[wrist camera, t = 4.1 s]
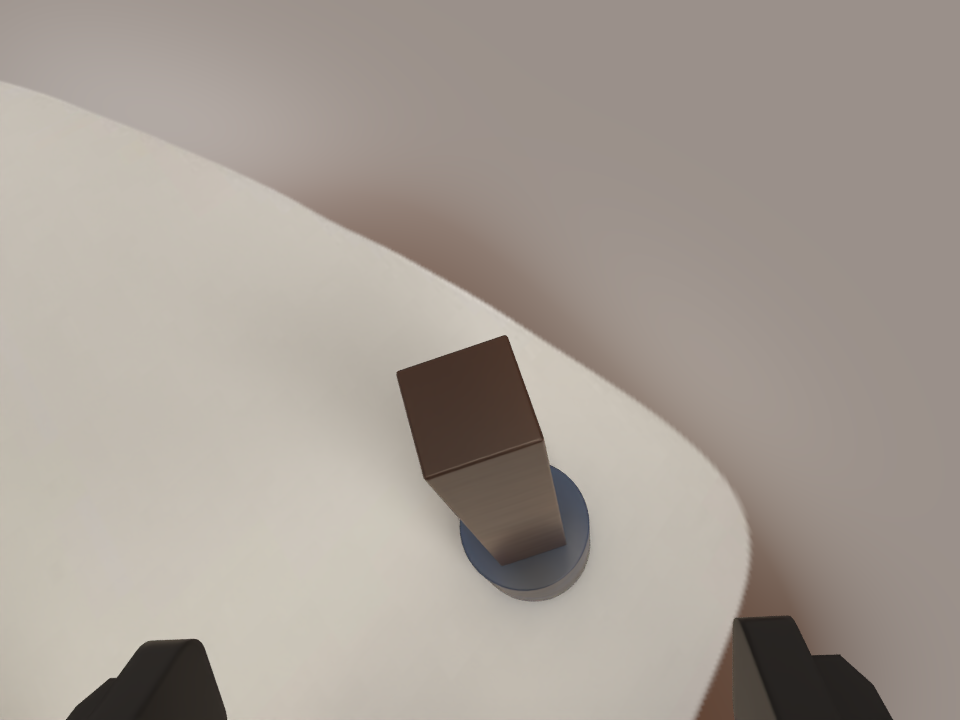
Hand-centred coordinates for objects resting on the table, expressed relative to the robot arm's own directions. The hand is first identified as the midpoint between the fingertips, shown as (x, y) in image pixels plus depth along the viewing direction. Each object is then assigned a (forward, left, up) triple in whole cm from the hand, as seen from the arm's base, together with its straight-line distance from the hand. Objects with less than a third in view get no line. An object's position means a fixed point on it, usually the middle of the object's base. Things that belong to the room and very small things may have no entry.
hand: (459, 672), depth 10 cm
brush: (-1, -5, -17) cm, 18 cm away
